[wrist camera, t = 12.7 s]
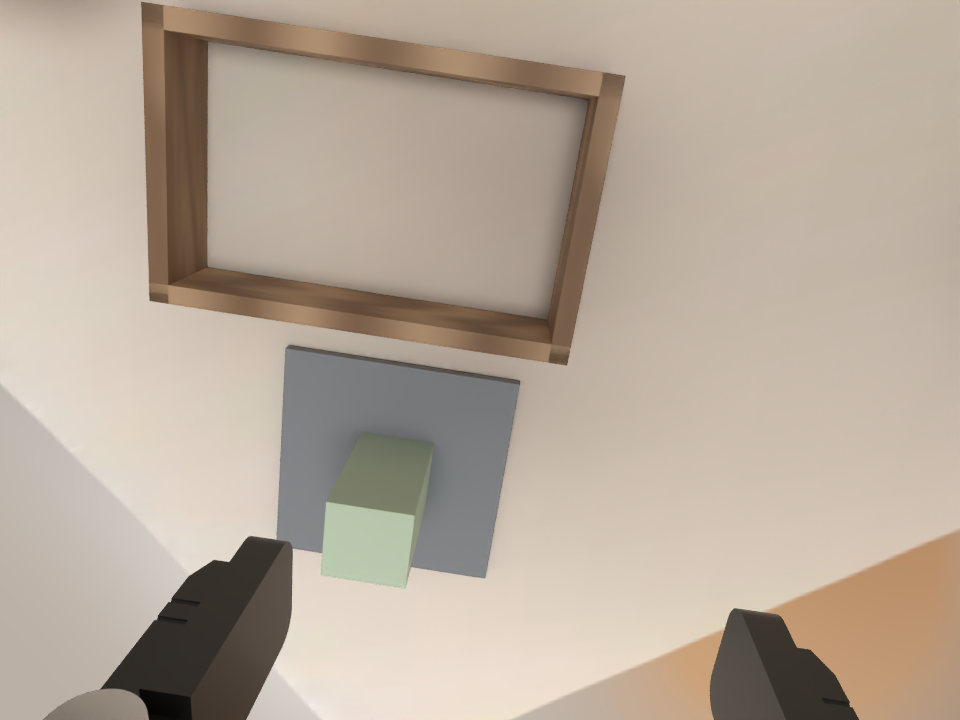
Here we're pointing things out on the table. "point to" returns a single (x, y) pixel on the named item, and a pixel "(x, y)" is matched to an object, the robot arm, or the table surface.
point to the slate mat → (402, 414)
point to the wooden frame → (189, 282)
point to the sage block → (377, 511)
